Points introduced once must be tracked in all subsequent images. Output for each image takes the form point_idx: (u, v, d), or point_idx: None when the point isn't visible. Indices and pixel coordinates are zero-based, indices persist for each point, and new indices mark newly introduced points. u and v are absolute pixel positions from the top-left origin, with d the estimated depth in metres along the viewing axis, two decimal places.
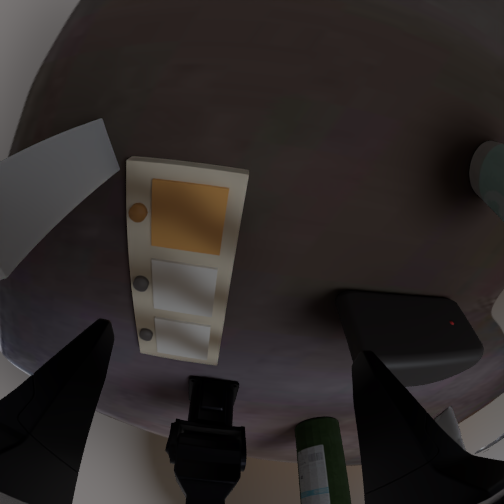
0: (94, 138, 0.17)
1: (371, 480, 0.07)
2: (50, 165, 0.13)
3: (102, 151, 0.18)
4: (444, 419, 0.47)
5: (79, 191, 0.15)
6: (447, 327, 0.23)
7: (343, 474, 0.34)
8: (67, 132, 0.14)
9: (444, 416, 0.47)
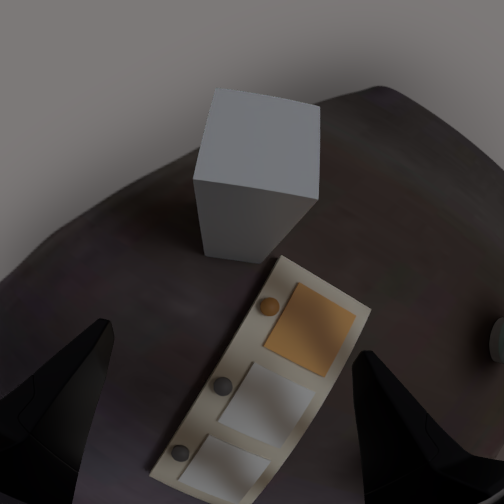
0: None
1: (371, 480, 0.07)
2: None
3: None
4: None
5: None
6: None
7: None
8: None
9: None
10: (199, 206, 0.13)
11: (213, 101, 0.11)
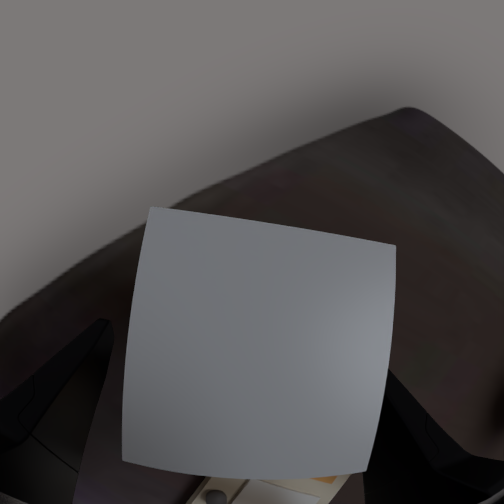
0: None
1: (371, 480, 0.07)
2: None
3: None
4: None
5: None
6: None
7: None
8: None
9: None
10: None
11: (143, 254, 0.05)
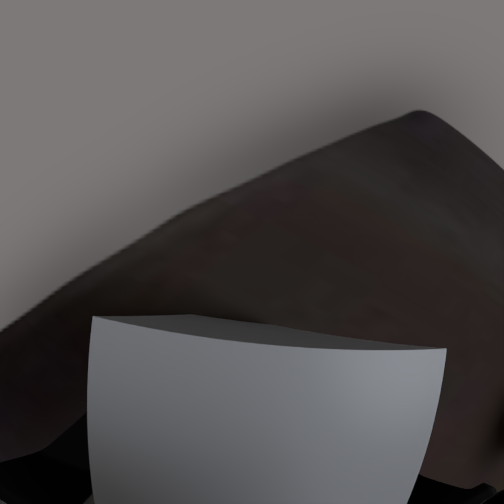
0: None
1: None
2: None
3: None
4: None
5: None
6: None
7: None
8: None
9: None
10: None
11: (91, 388, 0.03)
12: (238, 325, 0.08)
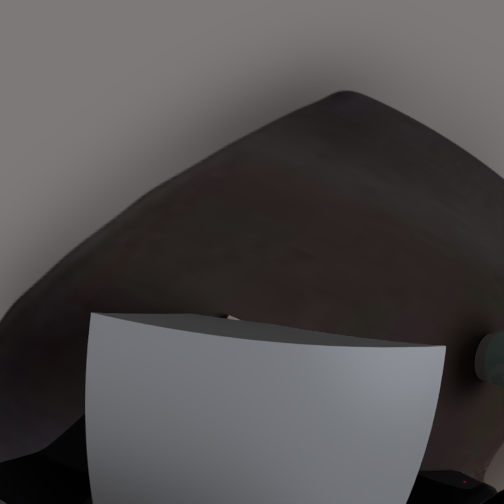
0: None
1: None
2: None
3: None
4: None
5: None
6: (462, 484, 0.16)
7: None
8: None
9: None
10: None
11: (89, 385, 0.03)
12: None
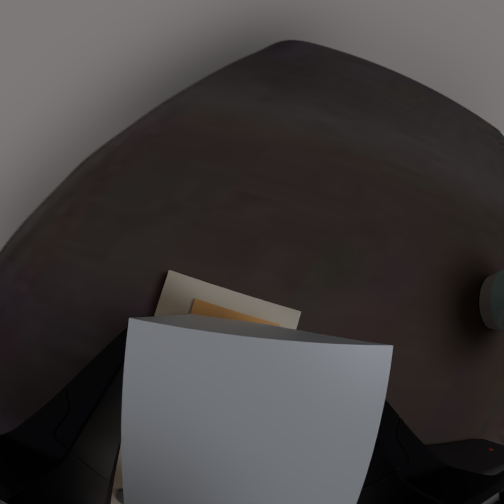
0: None
1: None
2: None
3: None
4: None
5: None
6: (489, 452, 0.14)
7: None
8: None
9: None
10: None
11: (127, 369, 0.04)
12: (235, 324, 0.10)
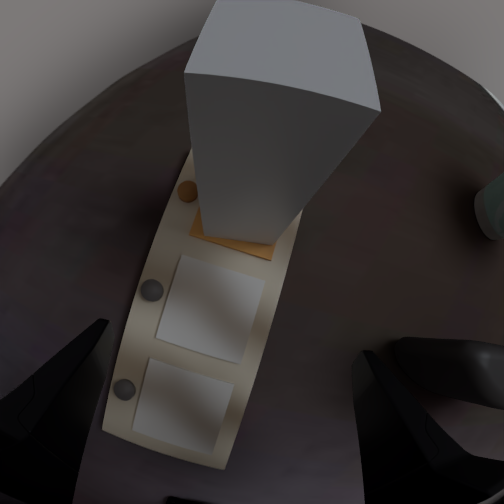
0: None
1: (371, 480, 0.07)
2: None
3: None
4: None
5: None
6: None
7: None
8: None
9: None
10: (194, 137, 0.08)
11: (218, 0, 0.06)
12: None
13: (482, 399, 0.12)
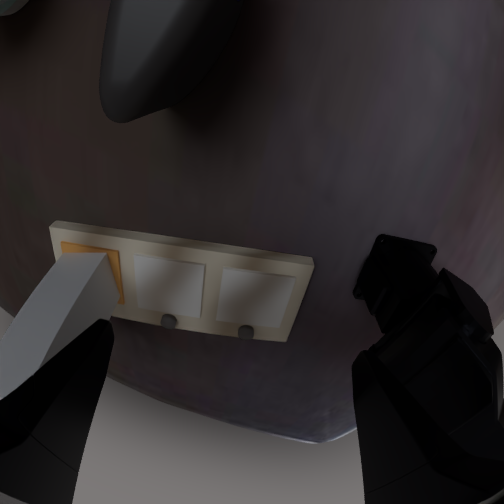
0: (63, 267, 0.19)
1: (371, 480, 0.07)
2: (30, 317, 0.15)
3: (77, 264, 0.20)
4: None
5: (66, 303, 0.16)
6: None
7: None
8: (35, 290, 0.17)
9: None
10: None
11: None
12: None
13: (194, 40, 0.08)
